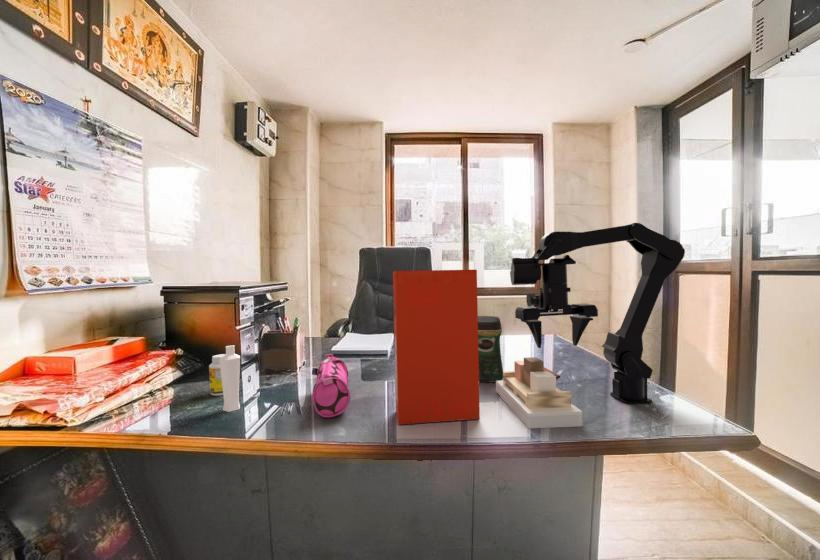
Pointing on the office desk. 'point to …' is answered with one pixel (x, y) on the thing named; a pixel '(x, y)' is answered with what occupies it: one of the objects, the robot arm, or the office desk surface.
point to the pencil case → (331, 387)
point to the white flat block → (539, 411)
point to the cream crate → (542, 382)
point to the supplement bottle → (215, 376)
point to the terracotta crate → (519, 370)
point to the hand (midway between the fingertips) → (557, 346)
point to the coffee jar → (489, 349)
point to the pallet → (535, 398)
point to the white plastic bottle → (230, 379)
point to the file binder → (436, 345)
